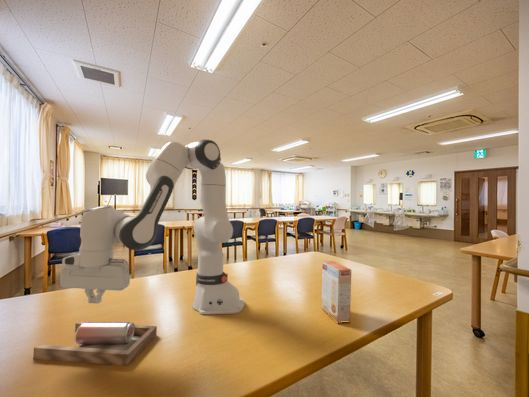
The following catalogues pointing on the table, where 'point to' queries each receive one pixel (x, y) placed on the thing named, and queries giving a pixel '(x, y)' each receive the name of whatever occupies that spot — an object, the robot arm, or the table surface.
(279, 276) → the table surface
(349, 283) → the cracker box
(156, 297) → the table surface
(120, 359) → the tray
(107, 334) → the beverage can
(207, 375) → the table surface
